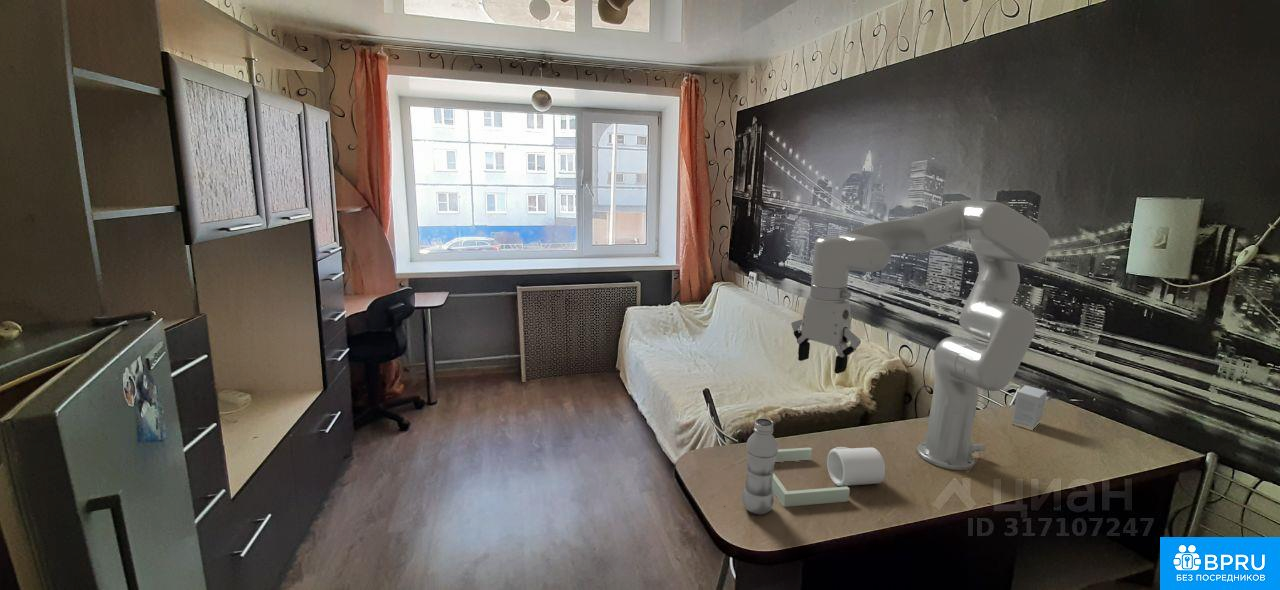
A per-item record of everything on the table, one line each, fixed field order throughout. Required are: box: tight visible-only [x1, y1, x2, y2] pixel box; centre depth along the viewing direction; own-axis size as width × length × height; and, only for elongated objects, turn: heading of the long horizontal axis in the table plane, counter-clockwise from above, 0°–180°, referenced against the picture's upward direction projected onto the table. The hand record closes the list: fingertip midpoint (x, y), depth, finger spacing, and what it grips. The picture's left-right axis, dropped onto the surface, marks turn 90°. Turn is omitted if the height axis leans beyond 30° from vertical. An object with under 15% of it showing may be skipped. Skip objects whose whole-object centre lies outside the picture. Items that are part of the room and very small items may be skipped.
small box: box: [1011, 384, 1048, 428], centre depth 152 cm, size 8×6×10 cm
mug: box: [826, 446, 886, 487], centre depth 123 cm, size 12×10×8 cm
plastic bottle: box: [742, 417, 779, 515], centre depth 109 cm, size 6×7×20 cm
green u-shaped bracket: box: [773, 447, 851, 508], centre depth 122 cm, size 15×18×3 cm
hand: (821, 365), depth 120 cm, fingers open, 9 cm apart
